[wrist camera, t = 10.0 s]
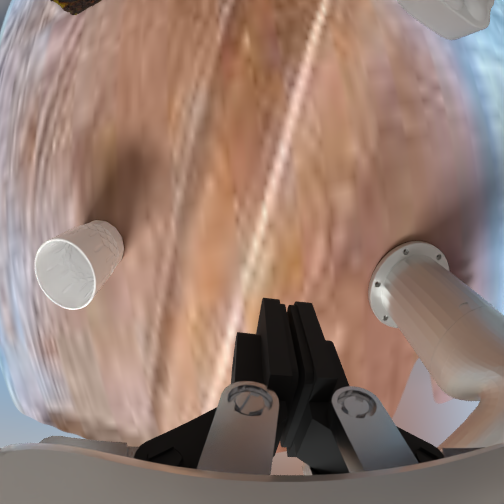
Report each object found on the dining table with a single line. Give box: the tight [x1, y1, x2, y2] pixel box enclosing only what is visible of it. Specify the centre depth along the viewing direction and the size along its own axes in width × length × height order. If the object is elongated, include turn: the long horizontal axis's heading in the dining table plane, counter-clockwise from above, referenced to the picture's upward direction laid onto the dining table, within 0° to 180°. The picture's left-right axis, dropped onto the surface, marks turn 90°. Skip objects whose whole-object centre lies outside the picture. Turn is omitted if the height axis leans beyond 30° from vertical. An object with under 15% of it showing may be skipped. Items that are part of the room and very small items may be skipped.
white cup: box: [35, 220, 124, 310], centre depth 33 cm, size 8×8×10 cm
